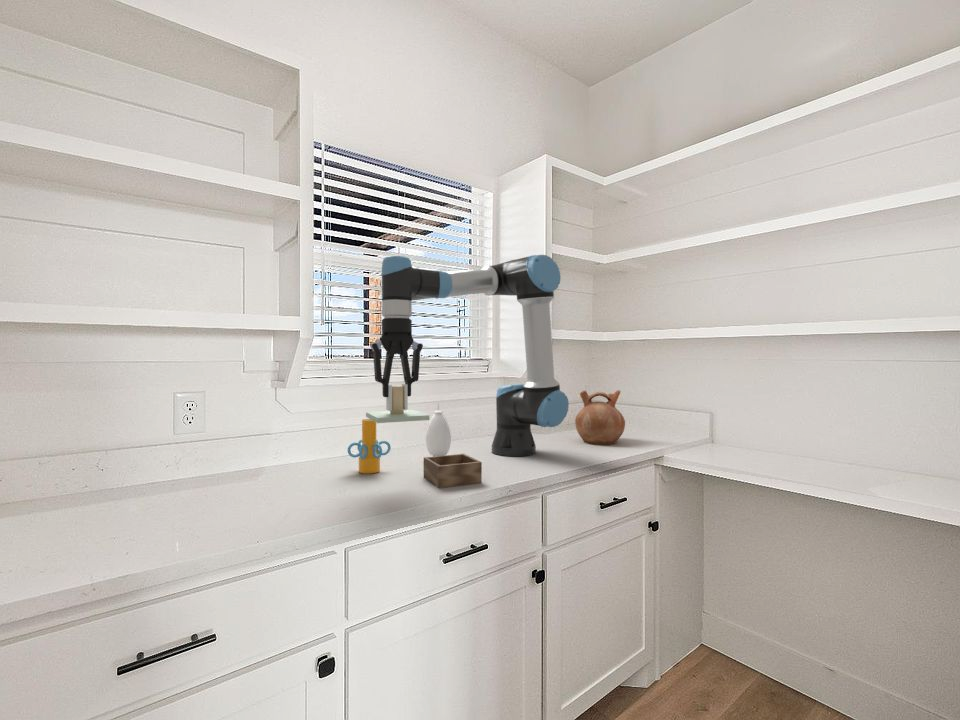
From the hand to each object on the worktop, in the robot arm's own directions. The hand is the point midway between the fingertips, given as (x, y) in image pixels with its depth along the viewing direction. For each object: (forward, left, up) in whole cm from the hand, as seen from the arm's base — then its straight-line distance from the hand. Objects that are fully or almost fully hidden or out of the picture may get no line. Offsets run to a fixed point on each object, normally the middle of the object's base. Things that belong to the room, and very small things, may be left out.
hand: (396, 409), depth 129 cm
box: (-15, 0, -20) cm, 25 cm away
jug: (-87, -29, -20) cm, 94 cm away
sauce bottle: (-21, -27, -20) cm, 40 cm away
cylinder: (+3, -19, -20) cm, 28 cm away
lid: (0, 0, -2) cm, 2 cm away
